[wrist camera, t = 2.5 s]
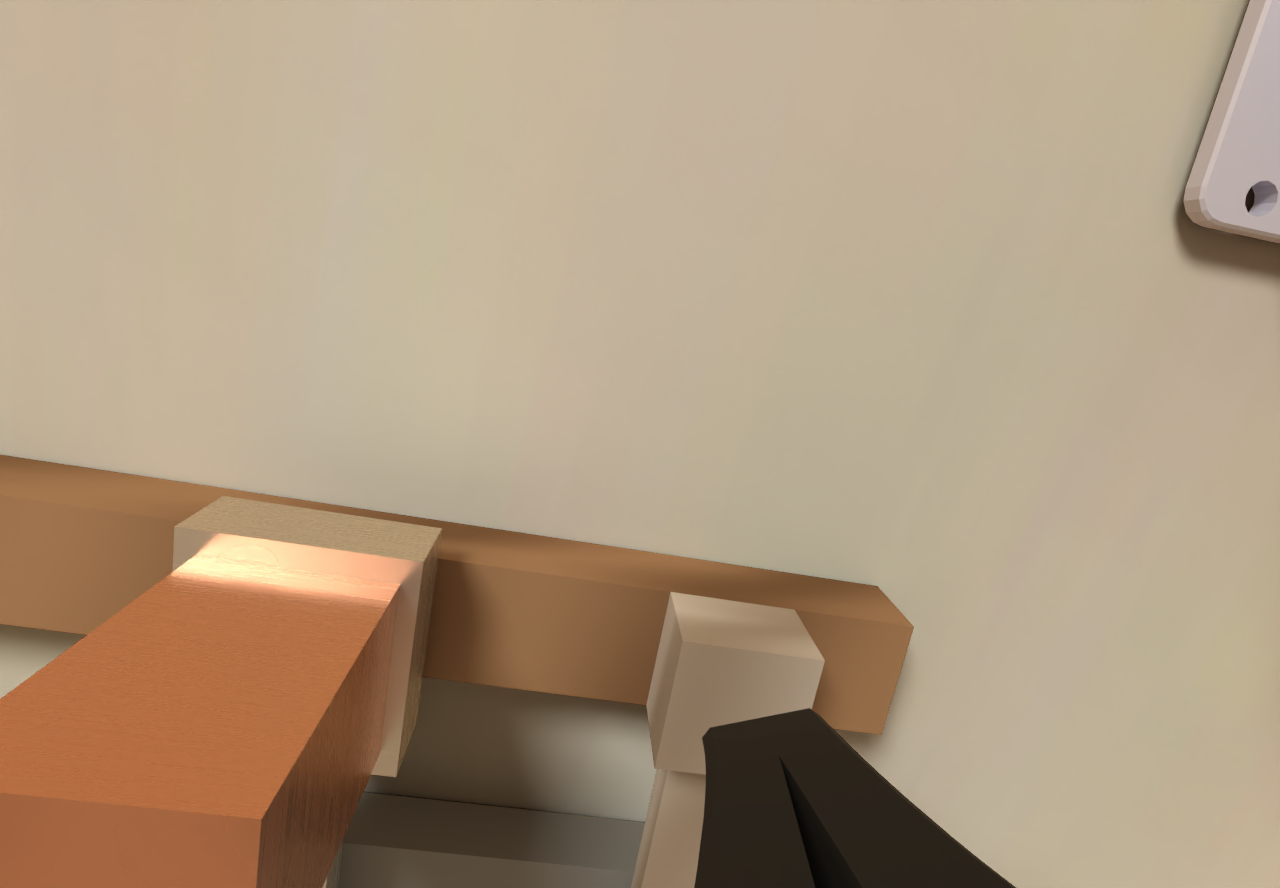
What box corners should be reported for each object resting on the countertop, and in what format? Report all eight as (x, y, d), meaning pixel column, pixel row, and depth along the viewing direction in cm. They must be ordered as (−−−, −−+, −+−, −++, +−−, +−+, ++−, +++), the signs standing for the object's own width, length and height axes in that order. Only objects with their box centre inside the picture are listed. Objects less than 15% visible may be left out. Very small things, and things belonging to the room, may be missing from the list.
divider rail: (877, 586, 13) (960, 679, 10) (759, 1001, 15) (800, 1176, 12) (-233, 419, 11) (-529, 475, 8) (-185, 924, 13) (-406, 1112, 10)
